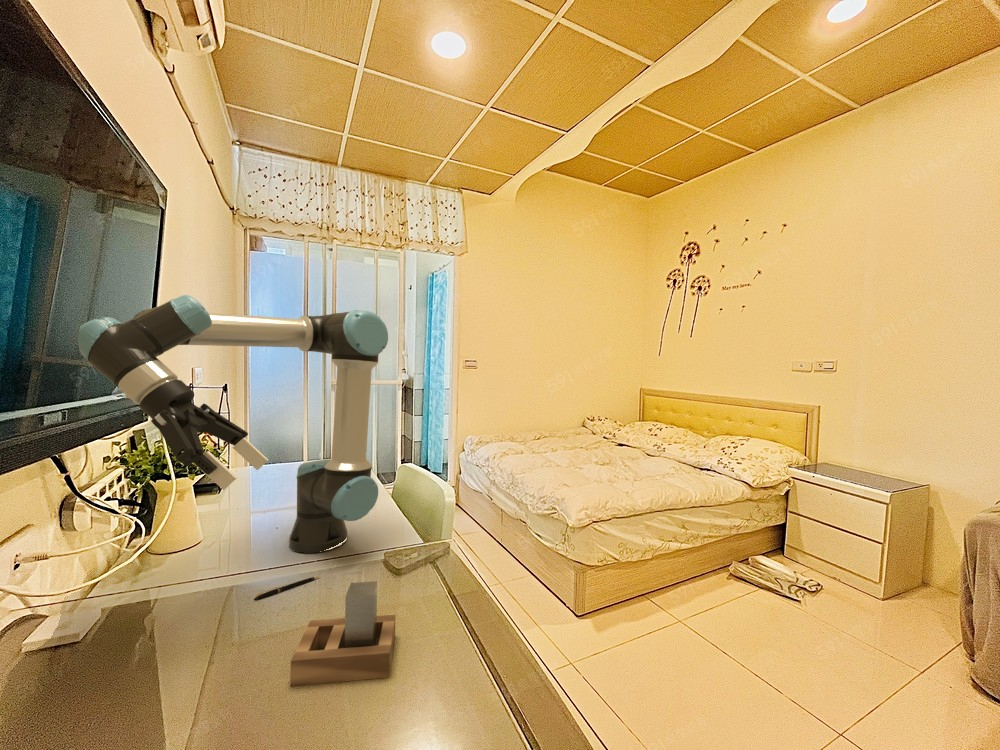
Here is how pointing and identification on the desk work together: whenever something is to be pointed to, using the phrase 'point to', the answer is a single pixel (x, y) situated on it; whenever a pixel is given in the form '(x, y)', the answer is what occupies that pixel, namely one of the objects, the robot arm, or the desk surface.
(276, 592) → the fountain pen
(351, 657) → the wooden slotted frame
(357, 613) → the grey tall rectangular block
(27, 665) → the desk surface
